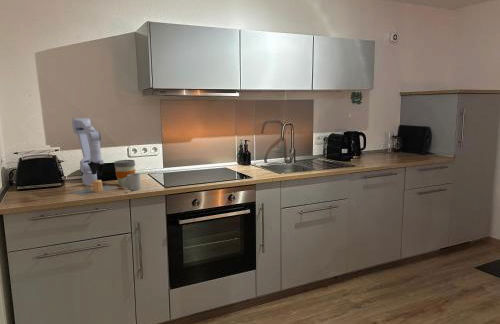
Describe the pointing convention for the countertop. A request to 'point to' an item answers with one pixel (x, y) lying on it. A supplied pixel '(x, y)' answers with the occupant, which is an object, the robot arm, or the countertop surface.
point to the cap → (97, 186)
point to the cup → (132, 182)
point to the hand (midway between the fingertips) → (97, 174)
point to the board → (90, 190)
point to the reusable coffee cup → (124, 170)
